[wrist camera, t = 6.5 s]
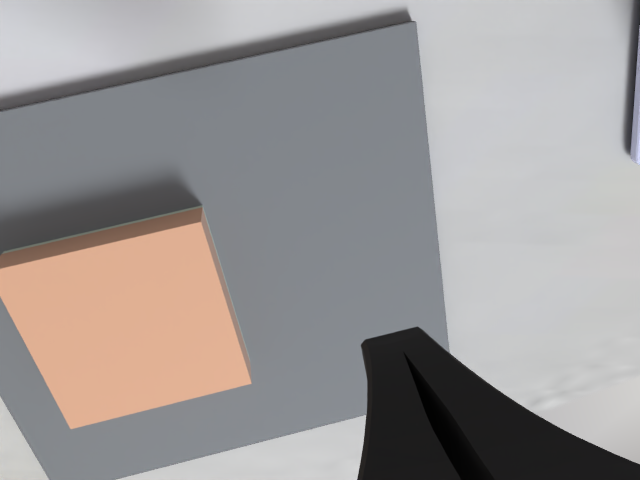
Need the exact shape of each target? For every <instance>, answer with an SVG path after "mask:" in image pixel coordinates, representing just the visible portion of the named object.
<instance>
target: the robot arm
mask: <svg viewBox="0 0 640 480" xmlns="http://www.w3.org/2000/svg"><path fill="white" fill-rule="evenodd" d="M631 159H632V161H633V162H635V163H637V164H639V165H640V27H639V42H638V56H637V70H636V84H635V99H634V113H633V127H632V141H631ZM361 349H362V355H363V360H364V365H365V370H366V376H367V415H366V425H365V436H364V444H363V451H362V457H361V463H360V468H359V474H358V479H357V480H640V464H637V463H635V462H632V461H629V460H627V459H625V458H623V457H620V456H618V455H615V454H613V453H611V452H609V451H607V450H605V449H602V448H600V447H598V446H596V445H594V444H592V443H589V442H587V441H585V440H583V439H581V438H579V437H576V436H574V435H572V434H570V433H568V432H566V431H564V430H563V429H560V428H559V427H557V426H555V425H553V424H552V423H550V422H548V421H546V420H545V419H543V418H541V417H539V416H538V415H536V414H534V413H533V412H531V411H529V410H528V409H526V408H524V407H523V406H521V405H520V404H518V403H516V402H515V401H513V400H512V399H510V398H509V397H507V396H506V395H504V394H503V393H501V392H500V391H498V390H497V389H496V388H494V387H493V386H491V385H490V384H489V383H487V382H486V381H484V380H483V379H482V378H481V377H479V376H478V375H477V374H475V373H474V372H473V371H471V370H470V369H469V368H467V367H466V366H465V365H463V364H462V363H461V362H460V361H458V360H457V359H456V358H455V357H454V356H452V355H451V354H450V353H449V352H448V351H446V350H445V349H444V348H443V347H442V346H440V345H439V344H438V343H437V342H436V341H435V340H434V339H433V338H431V337H430V336H429V335H428V334H427V333H426V332H425V331H424V330H423V329H421V328H419V327H418V326H417V327H413V328H409V329H405V330H401V331H397V332H393V333H389V334H385V335H381V336H377V337H373V338H369V339H365V340H364V341H363V343H362V344H361Z"/></svg>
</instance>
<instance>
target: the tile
mask: <svg viewBox="0 0 640 480" xmlns="http://www.w3.org/2000/svg"><path fill="white" fill-rule="evenodd" d="M0 297H1V299H2V301H3V303H4V305H5V306H6V308H7V310H8V312H9V314H10V316H11V318H12V320H13V322H14V323H15V325H16V327H17V329H18V331H19V333H20V335H21V337H22V338H23V340H24V342H25V344H26V346H27V348H28V350H29V352H30V354H31V355H32V357H33V359H34V361H35V363H36V365H37V367H38V369H39V371H40V372H41V374H42V376H43V378H44V380H45V382H46V384H47V386H48V388H49V389H50V391H51V393H52V395H53V397H54V399H55V401H56V403H57V405H58V406H59V408H60V410H61V412H62V414H63V416H64V418H65V420H66V422H67V423H68V425H69V427H70V429H74V428H78V427H82V426H86V425H90V424H94V423H98V422H102V421H106V420H110V419H114V418H118V417H122V416H125V415H129V414H133V413H137V412H141V411H145V410H149V409H153V408H157V407H161V406H165V405H169V404H173V403H177V402H181V401H185V400H189V399H193V398H197V397H201V396H205V395H209V394H213V393H217V392H221V391H225V390H229V389H233V388H237V387H240V386H244V385H248V384H252V381H251V366H250V358H249V354H248V351H247V348H246V345H245V341H244V338H243V335H242V332H241V328H240V325H239V322H238V319H237V315H236V312H235V309H234V306H233V302H232V299H231V296H230V293H229V289H228V286H227V283H226V280H225V276H224V273H223V270H222V267H221V263H220V260H219V257H218V253H217V250H216V247H215V244H214V240H213V237H212V234H211V231H210V227H209V224H208V221H207V218H206V214H205V211H204V208H203V205H201V206H197V207H193V208H188V209H184V210H180V211H175V212H171V213H167V214H162V215H158V216H154V217H149V218H145V219H141V220H137V221H132V222H128V223H124V224H119V225H115V226H111V227H106V228H102V229H98V230H94V231H89V232H85V233H81V234H76V235H72V236H68V237H63V238H59V239H55V240H50V241H46V242H42V243H38V244H33V245H29V246H25V247H20V248H16V249H12V250H7V251H4V252H3V253H2V254H1V255H0Z"/></svg>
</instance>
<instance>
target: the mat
mask: <svg viewBox="0 0 640 480" xmlns="http://www.w3.org/2000/svg"><path fill="white" fill-rule="evenodd" d="M201 205H203V208H204V211H205V214H206V218H207V221H208V224H209V227H210V231H211V234H212V237H213V240H214V244H215V247H216V250H217V253H218V257H219V260H220V263H221V267H222V270H223V273H224V276H225V280H226V283H227V286H228V289H229V293H230V296H231V299H232V302H233V306H234V309H235V312H236V315H237V319H238V322H239V325H240V328H241V332H242V335H243V338H244V341H245V345H246V348H247V351H248V354H249V358H250V366H251V381H252V384H248V385H244V386H240V387H237V388H233V389H229V390H225V391H221V392H217V393H213V394H209V395H205V396H201V397H197V398H193V399H189V400H185V401H181V402H177V403H173V404H169V405H165V406H161V407H157V408H153V409H149V410H145V411H141V412H137V413H133V414H129V415H125V416H122V417H118V418H114V419H110V420H106V421H102V422H98V423H94V424H90V425H86V426H82V427H78V428H74V429H70V427H69V425H68V423H67V422H66V420H65V418H64V416H63V414H62V412H61V410H60V408H59V406H58V405H57V403H56V401H55V399H54V397H53V395H52V393H51V391H50V389H49V388H48V386H47V384H46V382H45V380H44V378H43V376H42V374H41V372H40V371H39V369H38V367H37V365H36V363H35V361H34V359H33V357H32V355H31V354H30V352H29V350H28V348H27V346H26V344H25V342H24V340H23V338H22V337H21V335H20V333H19V331H18V329H17V327H16V325H15V323H14V322H13V320H12V318H11V316H10V314H9V312H8V310H7V308H6V306H5V305H4V303H3V301H2V299H1V297H0V396H1V398H2V400H3V402H4V403H5V405H6V407H7V408H8V410H9V412H10V413H11V415H12V417H13V419H14V420H15V422H16V424H17V425H18V427H19V429H20V431H21V432H22V434H23V436H24V437H25V439H26V441H27V442H28V444H29V446H30V448H31V449H32V451H33V453H34V454H35V456H36V458H37V460H38V461H39V463H40V465H41V466H42V468H43V470H44V471H45V473H46V475H47V477H48V478H49V480H116V479H120V478H123V477H127V476H131V475H135V474H139V473H143V472H147V471H150V470H154V469H158V468H162V467H166V466H170V465H174V464H178V463H181V462H185V461H189V460H193V459H197V458H201V457H205V456H208V455H212V454H216V453H220V452H224V451H228V450H232V449H236V448H239V447H243V446H247V445H251V444H255V443H259V442H263V441H266V440H270V439H274V438H278V437H282V436H286V435H290V434H294V433H297V432H301V431H305V430H309V429H313V428H317V427H321V426H324V425H328V424H332V423H336V422H340V421H344V420H348V419H352V418H355V417H359V416H363V415H367V376H366V370H365V365H364V360H363V355H362V349H361V344H362V343H363V341H364V340H365V339H369V338H373V337H377V336H381V335H385V334H389V333H393V332H397V331H401V330H405V329H409V328H413V327H417V326H418V327H419V328H421V329H423V330H424V331H425V332H426V333H427V334H428V335H429V336H430V337H431V338H433V339H434V340H435V341H436V342H437V343H438V344H439V345H440V346H442V347H443V348H444V349H445V350H446V351H448V352H449V343H448V333H447V323H446V313H445V304H444V294H443V284H442V274H441V264H440V254H439V244H438V234H437V224H436V214H435V204H434V194H433V184H432V175H431V165H430V155H429V145H428V135H427V125H426V115H425V105H424V95H423V85H422V75H421V65H420V55H419V45H418V36H417V26H416V22H415V21H409V22H405V23H400V24H396V25H391V26H386V27H382V28H377V29H373V30H368V31H363V32H359V33H354V34H350V35H345V36H340V37H336V38H331V39H327V40H322V41H318V42H313V43H308V44H304V45H299V46H295V47H290V48H285V49H281V50H276V51H272V52H267V53H262V54H258V55H253V56H249V57H244V58H239V59H235V60H230V61H226V62H221V63H217V64H212V65H207V66H203V67H198V68H194V69H189V70H184V71H180V72H175V73H171V74H166V75H161V76H157V77H152V78H148V79H143V80H138V81H134V82H129V83H125V84H120V85H116V86H111V87H106V88H102V89H97V90H93V91H88V92H83V93H79V94H74V95H70V96H65V97H60V98H56V99H51V100H47V101H42V102H38V103H33V104H28V105H24V106H19V107H15V108H10V109H5V110H1V111H0V255H1V254H2V253H3V252H4V251H7V250H12V249H16V248H20V247H25V246H29V245H33V244H38V243H42V242H46V241H50V240H55V239H59V238H63V237H68V236H72V235H76V234H81V233H85V232H89V231H94V230H98V229H102V228H106V227H111V226H115V225H119V224H124V223H128V222H132V221H137V220H141V219H145V218H149V217H154V216H158V215H162V214H167V213H171V212H175V211H180V210H184V209H188V208H193V207H197V206H201Z"/></svg>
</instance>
